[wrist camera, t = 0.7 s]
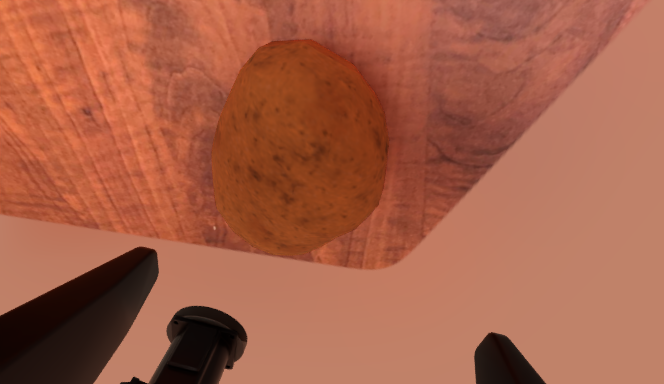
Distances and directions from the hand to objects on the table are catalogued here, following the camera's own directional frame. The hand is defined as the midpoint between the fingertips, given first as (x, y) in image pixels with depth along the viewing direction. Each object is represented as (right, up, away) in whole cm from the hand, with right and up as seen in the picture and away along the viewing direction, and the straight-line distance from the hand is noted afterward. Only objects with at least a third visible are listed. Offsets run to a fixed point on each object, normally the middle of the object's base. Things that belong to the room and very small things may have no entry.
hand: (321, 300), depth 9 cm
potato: (-1, +6, +12) cm, 14 cm away
